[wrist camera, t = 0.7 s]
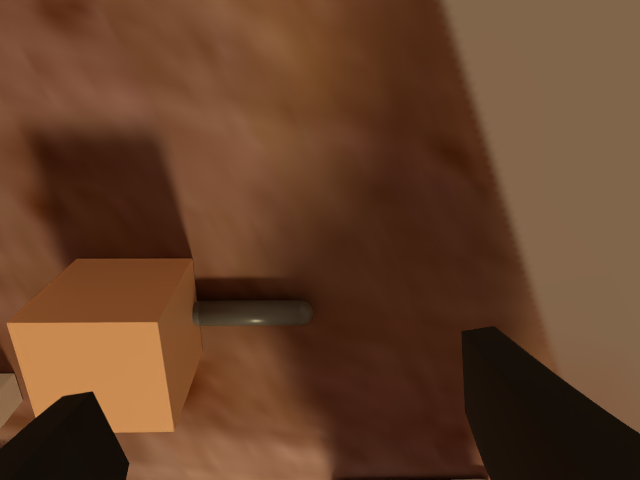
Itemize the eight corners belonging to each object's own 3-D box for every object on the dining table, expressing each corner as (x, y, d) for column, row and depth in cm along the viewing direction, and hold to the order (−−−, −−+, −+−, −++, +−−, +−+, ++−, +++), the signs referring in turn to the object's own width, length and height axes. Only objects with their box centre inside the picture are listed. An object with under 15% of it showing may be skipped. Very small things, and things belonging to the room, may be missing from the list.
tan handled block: (312, 349, 20) (313, 430, 16) (97, 351, 20) (40, 433, 15) (312, 258, 18) (314, 321, 14) (76, 258, 18) (6, 323, 14)
